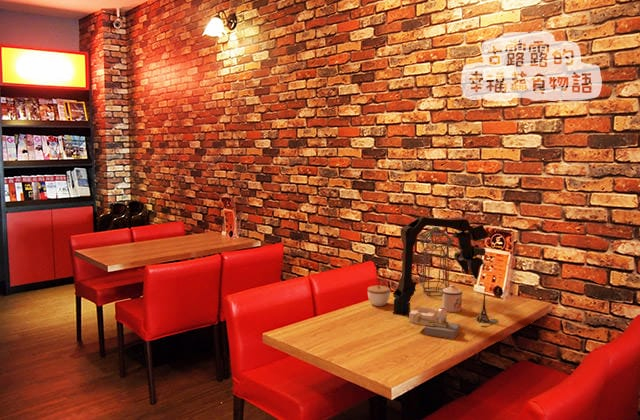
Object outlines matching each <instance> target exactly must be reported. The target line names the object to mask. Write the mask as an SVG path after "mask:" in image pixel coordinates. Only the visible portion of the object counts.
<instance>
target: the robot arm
mask: <svg viewBox="0 0 640 420" xmlns="http://www.w3.org/2000/svg"><path fill="white" fill-rule="evenodd" d="M426 226H427V227H428V226H429V227H438V228H448V229H453V230H456V231H455V232H454V233H453V235H452V237H451V238H453V239H457V242H458V243H457V244H458V247H457V249H458V250H459V251H458V252H455V253H454V255H453V257H454V260H456V261H455V262H457V263H458V264H459V266H460V267H461V269H462V270H463V271H464V273H465V275H468V274H469V271H470V272H471V274H472V276H473V278H474V279H475V280H476V279H478V277H479V271H480V268H481V267H482V266H483V265H484V264H485V263H484V259H482V258H480V257H478V256H483V257H485V255H486V248H484V247H481V246H479V244H472V241H473V242H474V243H476V242H478V241H482V240H485V239H487V238H488V233H487V230H486V229H485V227H484V225H483V224H478V225H475V226H472V225H471V224H470V221H469V220H468V219H465V218H462V217H459V216H458V217H451V218H450V217H449V218H443V217H442V218H441V217H432V216H431V217H430V216H425V215H420V216H419V217H417V218H416V219H414V220H413V221H411V222H410V223H408V224H407V225H404V226H403V227H402V228H401V229H400V239H401V243H402V247H403V248H402V262H401V263H402V265H401V276H400V279H399V281H398V285H397V288H396V289H395V290H394V291H393V292H392V296H393V298H394V299H393V311H392V314H394V315H401V316H407V315H408V314H409V313H410V312H411V302H410V301H411V299H412V297H413V296H414V294H415V292H417V289H416V285H417V282H416V281H415V280H413V258H414V257H413V256H414V247H415V244H416V243H417V240H418V236H417V235H419V234H421V233H422V231H423V230H424V228H425V227H426ZM458 231H459V232H458Z"/></svg>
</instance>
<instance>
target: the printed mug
mask: <svg viewBox="0 0 640 420" xmlns="http://www.w3.org/2000/svg"><path fill="white" fill-rule="evenodd" d="M442 292H443V296H442V306H441V308H446V309H447V312H449V313H459V312H460V311H462V301H463V300H462V299H463V291H462V290H461V289H460V288H458V287H456V286H455V284H449V287H448V288H446V287H445V288H444V289H443V291H441V293H442Z"/></svg>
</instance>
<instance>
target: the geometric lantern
mask: <svg viewBox="0 0 640 420" xmlns="http://www.w3.org/2000/svg"><path fill="white" fill-rule="evenodd" d="M434 233H435V234H434ZM440 233H441V234H440ZM444 236H445V237H446V240H445V241H443V240H442V238H443V237H444ZM417 237H419V239H420V243H421V245H422V247H423V250H421V252H422V253H421V265H420V273H419V282H418V283H419V285H420V286H421V287H422V289H423V291H422V293H424V294H425V295H426V296H427V297H439V296H440V297H441V296H442V297H443V292H442V291H443V289H445V288H448V287H450V279H449V277H450V276H449V275H450V273H449V272H450V270H449V269H450V268H449V267H450V266H449V261H450V260H449V258H450V257H449V253H450V248H448V249H447V252H446V251H445V250H446V248H447V246H448V247H450V246H451V245H452V244H453V243H454V242H455V238H453V237H451V236H450V235H449V234H447V233H446V232H445V231H444V230H442V229H441V227H437V226H432V227H431V228H430V229H427V230H425V231H423V232H420V233H419V234H418V235H417ZM432 237H434V240H431V239H432ZM437 237H439V238H437ZM439 240H440V241H439ZM425 243H427V245H426V246H425ZM433 243H434V244H433ZM443 243H444V244H443ZM429 244H430V245H432V246H433V247H434V248H433V249H427V248H428V246H429ZM436 244H437V245H438V246H437V245H436ZM440 244H441V245H440ZM443 247H444V248H443ZM437 248H440V249H437ZM436 251H437V252H438V251H439V252H440V254H433V252H436ZM427 252H430V253H429V254H428V253H427ZM438 256H439V271H438V280H430V270H431V269H430V263H431V261H430V260H431V257H438ZM427 262H428V263H427ZM427 264H428V268H427ZM442 265H443V267H442ZM441 267H442V280H443V281H441V280H440V279H441ZM427 269H428V272H427ZM426 272H427V273H428V275H427V273H426ZM426 275H427V276H428V277H427V280H426ZM426 283H427V287H425V284H426ZM430 283H437V284H436V286H430ZM439 283H441V284H439ZM442 285H444V286H445V288H443V287H442V288H441V286H442ZM432 290H435V291H432ZM431 293H433V294H434V293H439V294H434V295H432V294H431Z"/></svg>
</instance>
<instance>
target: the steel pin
mask: <svg viewBox="0 0 640 420" xmlns="http://www.w3.org/2000/svg"><path fill="white" fill-rule="evenodd" d="M447 312H448V311H447V309H446V308H442V307H440V308H439V307H438V319H437V320H438V322H439V323H440V324H444V323H446V322H447V315H448V314H447ZM438 327H439V326H438ZM443 328H446V327H443Z"/></svg>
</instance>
